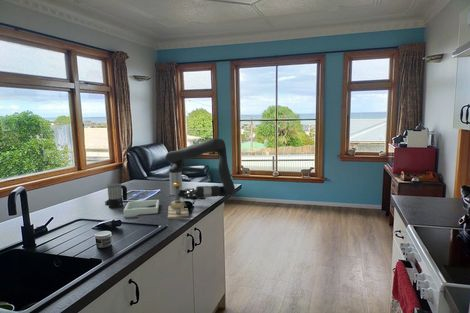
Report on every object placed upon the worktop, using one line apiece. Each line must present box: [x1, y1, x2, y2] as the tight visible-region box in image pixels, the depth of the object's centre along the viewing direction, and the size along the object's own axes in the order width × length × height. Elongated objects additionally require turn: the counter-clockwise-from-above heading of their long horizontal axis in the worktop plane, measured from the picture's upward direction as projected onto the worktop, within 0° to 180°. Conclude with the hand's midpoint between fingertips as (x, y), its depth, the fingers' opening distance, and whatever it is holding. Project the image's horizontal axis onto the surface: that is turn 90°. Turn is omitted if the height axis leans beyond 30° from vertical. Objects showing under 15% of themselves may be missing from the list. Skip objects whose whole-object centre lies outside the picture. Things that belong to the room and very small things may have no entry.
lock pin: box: [173, 183, 181, 201], centre depth 198 cm, size 5×5×15 cm
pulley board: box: [167, 199, 190, 220], centre depth 191 cm, size 25×12×9 cm, turn 11°
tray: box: [123, 199, 160, 218], centre depth 195 cm, size 19×19×4 cm
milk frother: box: [104, 183, 128, 209], centre depth 210 cm, size 14×16×15 cm
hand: (178, 193), depth 198 cm, fingers open, 8 cm apart
